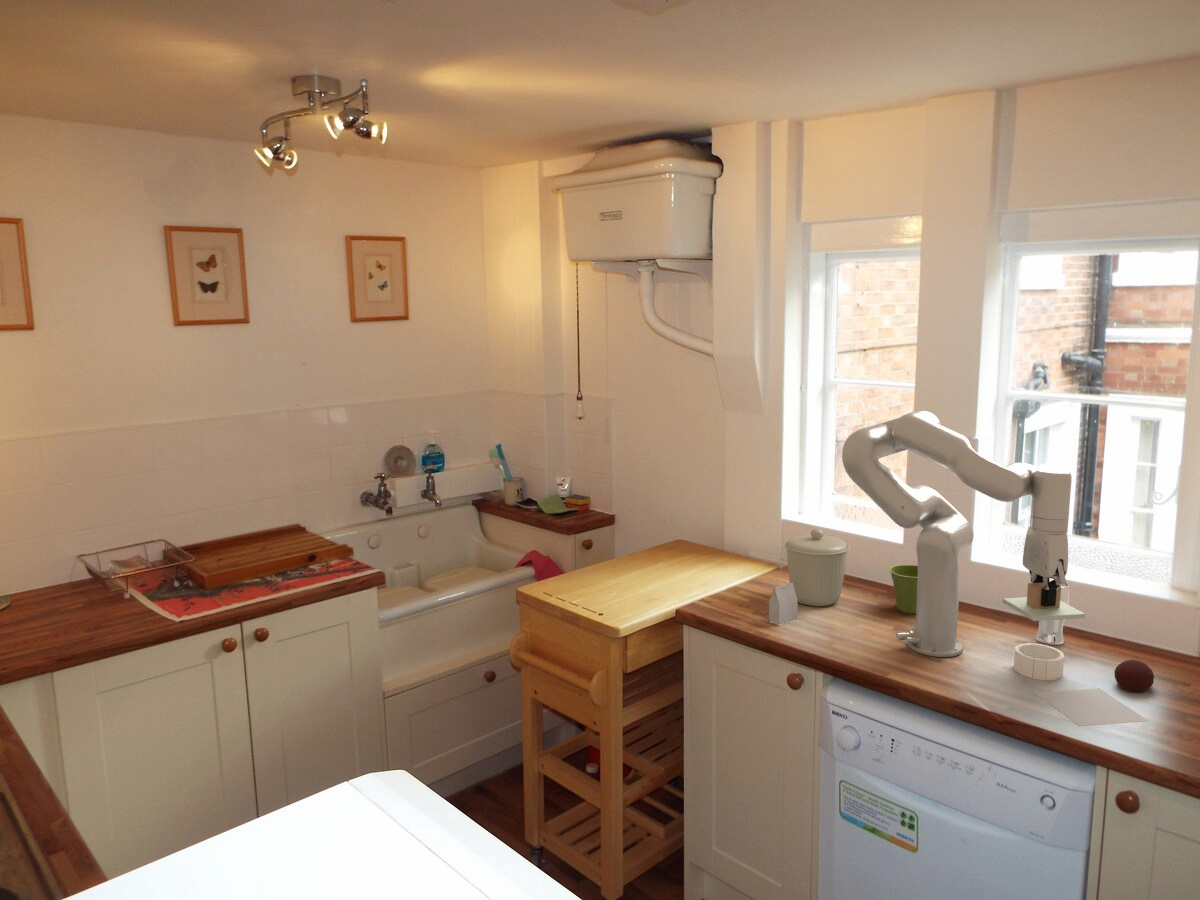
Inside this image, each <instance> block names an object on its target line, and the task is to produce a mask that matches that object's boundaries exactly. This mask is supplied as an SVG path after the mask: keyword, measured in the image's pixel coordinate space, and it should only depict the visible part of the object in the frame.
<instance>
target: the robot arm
mask: <svg viewBox="0 0 1200 900" xmlns="http://www.w3.org/2000/svg"><path fill="white" fill-rule="evenodd" d="M907 450H909V451H910V452H912V453H915V454H917V455H918V456H921V457H923V458H925V459H927V460H929V461H931V462H933V463H934V464H936V465H939V466H941V467H942V468H945V469H947V470H948V471H949V472H950V473H951V474H952V475H953V476H954V477H956V478H957V479H958V480H960V481H961V482H962V483H963V484H965V485H967V486H968V487H969V488H971V489H974V490H975V491H977V492H979V493H982V494H983V495H985V496H988V497H990V498H992V499H993V500H997V501H1000V502H1004V503H1011V502H1015V501H1017V500H1019V499H1021V498H1022V497H1025V496H1031V502H1030V503H1031V505H1030V520H1029V526H1028V527H1027V530H1026V534H1025V538H1024V539H1025V540H1024V547H1023V553H1022V566H1023V567H1024V568H1026V569H1027V570H1028V571H1029V575H1030V583H1042V582H1044V589H1042V595H1041V606H1043V607H1046V606H1055V605H1056V593H1057V590H1058V589H1059V586H1060V585H1062V584H1065V583H1066V582H1067V580H1066V576H1067V573H1068V568H1069V567H1068V566H1069V542H1068V541H1069V539H1068V531H1069V530H1068V529H1069V519H1070V517H1069V516H1070V505H1071V504H1070V502H1071V492H1072V480H1073V479H1072V475H1071V472H1070V471H1069V470H1067V469H1063V468H1059V467H1041V466H1036V465H1033V464H1030V463H1026V462H1013V463H1010V464H1008V465H1006V466H1002V465H1000V464H997V463H996V462H994V461H991V460H990V459H987V458H985V457H984V456H982V455H980V454H979V453H978V452H976V451H975V450H974V449H973V448H972V445H971V443H970V441H969V439H968V438H967V437H966V436H965V435H963V434H960V433H958V432H956V431H954V430H952V429H950V428H947V427H945V426H943V425H942V424H941V422H940V420H939V419H938V417H937V416H936V415H935V414H933V413H932V412H930V411H927V410H915V411H913V412H909V413H905V414H903V415H901V416H899V417H897V418H894V419H891V420H887V421H884V422H880V423H878V424H874V425H871V426H870V425H869V426H867V427H866V426H865V427H864V428H860V429H857V430H855V431H854V432H851V434H849V435H848V436H847V438H846V440H845V441H844V444H843V446H842V450H841V451H842V452H841V460H842V466H843V468H844V470H845V472H846V475H848V477H849V479H850V480H852V482H853V483H854V484H855V485H856V486H858V487H859V488H860V489H861V491H863V492H864V493H865V494H866V495H867V496H868V497H869V498H870V499H871V500H872V501H873V502H874V504H876V505H877V506H878V508H880V509H881V510H882V512H884V513H885V514H886V516H888V517H889V518H890V519H891V520H892V521H893V523H895V524H896V525H897V526H899V527H901V528H902V529H912V528H916V527H919V526H920V527H921V528H922V530H920V532H919V535H918V536H917V539H916V543H915V546H916V547H915V550H916V559H917V560H916V562H917V565H918V581H917V604H916V614H915V626H911V628H910V630H908V631H907V632H904V631H902V632H901V631H900V632H896V633H895V639H896V641H905V643H906V644H908V647H909V649H911V650H913V651H914V652H916V653H919V654H922V655H923V656H924V655H925V656H930V657H936V658H950V657H951V658H952V657H956V656H958V655H960V654H962V653H963V650H964V645H963V644H962V643H961V642H960V641H959V640H958V639H957V634H958V620H959V619H958V617H959V601H960V584H961V583H960V580H961V579H960V565H959V555H960V554H962V553H963V552H965V551H966V550H967V549H969V547H970V546H971V545H972V543H973V541H974V536H975V535H974V528H973V527H972V525H971V523H969V520H968V519H966V517H964V516H963V515H962V514H961V512H959V511H958V510H957V509H956V508H955V507H954V506H953V504H951V503H950V502H949V501H948V500H947V499H945V498H944V496H942V495H941V494H940V493H939V492H938V491H937V490H935V489H934V488H932V487H930V486H929V485H924V484H912V485H910V486H909V485H908V484H907V483H906V482H905V481H903V480H902V479H901V478H900V477H899V475H897V474H896V473H895V472H894V471H893V470H891V469H890V468H889V467H886V466H885V465H884V464H883V463H881V462H880V461H879V459H882V458H885V457H888V456H891V455H894V454H897V453H901V452H904V451H907ZM1050 579H1053V580H1052V581H1051V582H1050Z"/></svg>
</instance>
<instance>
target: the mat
mask: <svg viewBox="0 0 1200 900" xmlns="http://www.w3.org/2000/svg"><path fill="white" fill-rule="evenodd" d="M1034 694H1035V695H1036V696H1038V697H1039V698H1040V699H1041V700H1042V701H1045V702H1046V703H1047V704H1048V705H1050V706H1051V707H1053V708H1054V709H1056V710H1057V711H1058V712H1059V713H1060V714H1062V715H1063V716H1065V717H1066V718H1068V719H1069V720H1071V722H1073V723H1074V724H1076V725H1077V726H1078V727H1084V726H1087V727H1088V726H1097V725H1098V726H1100V725H1114V724H1127V723H1139V722H1149V720H1148V719H1147V718H1145V717H1144V716H1142V715H1141V714H1140V713H1138V712H1137V711H1135V710H1133V709H1132V708H1130V707H1129V706H1127V705H1125V704H1124V703H1122V702H1121V701H1120V700H1117V699H1116V698H1115V697H1114V696H1112V695H1110V694H1109V693H1107V692H1105V691H1104V690H1102V689H1101V688H1084V689H1071V690H1054V691H1042V692H1034Z"/></svg>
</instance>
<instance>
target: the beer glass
mask: <svg viewBox="0 0 1200 900" xmlns="http://www.w3.org/2000/svg"><path fill="white" fill-rule="evenodd" d="M1052 580H1053V579H1050V582H1051V581H1052ZM1060 586H1061V596H1060V601H1062V602H1064V603H1066V604H1068V605H1070V604H1069V603H1070V584H1069V582H1067V581H1066V583H1065V584H1062V585H1060ZM1065 621H1066V619H1063V620H1045V621H1038V630H1037V633H1036V637H1035V639H1036V641H1037V642H1039V643H1040V644H1041V643H1042V644H1043V645H1047V646H1061V645H1062V644H1064V641H1065V640H1064V632H1063V629H1064V623H1065Z"/></svg>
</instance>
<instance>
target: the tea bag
mask: <svg viewBox="0 0 1200 900" xmlns="http://www.w3.org/2000/svg"><path fill="white" fill-rule="evenodd" d="M768 603H769V604H768V621H769V620H770V621H772V622H775V623H777V624H782V623H786V622H790V621H793V620H798V601H797V596H796V593H795V590H794V586H793V583H790V582H789V583H785V584H781V585H778V586H774V587H773V590H772V594H771V596H770V597H769V600H768ZM793 622H794V621H793ZM790 623H791V622H790Z"/></svg>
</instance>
